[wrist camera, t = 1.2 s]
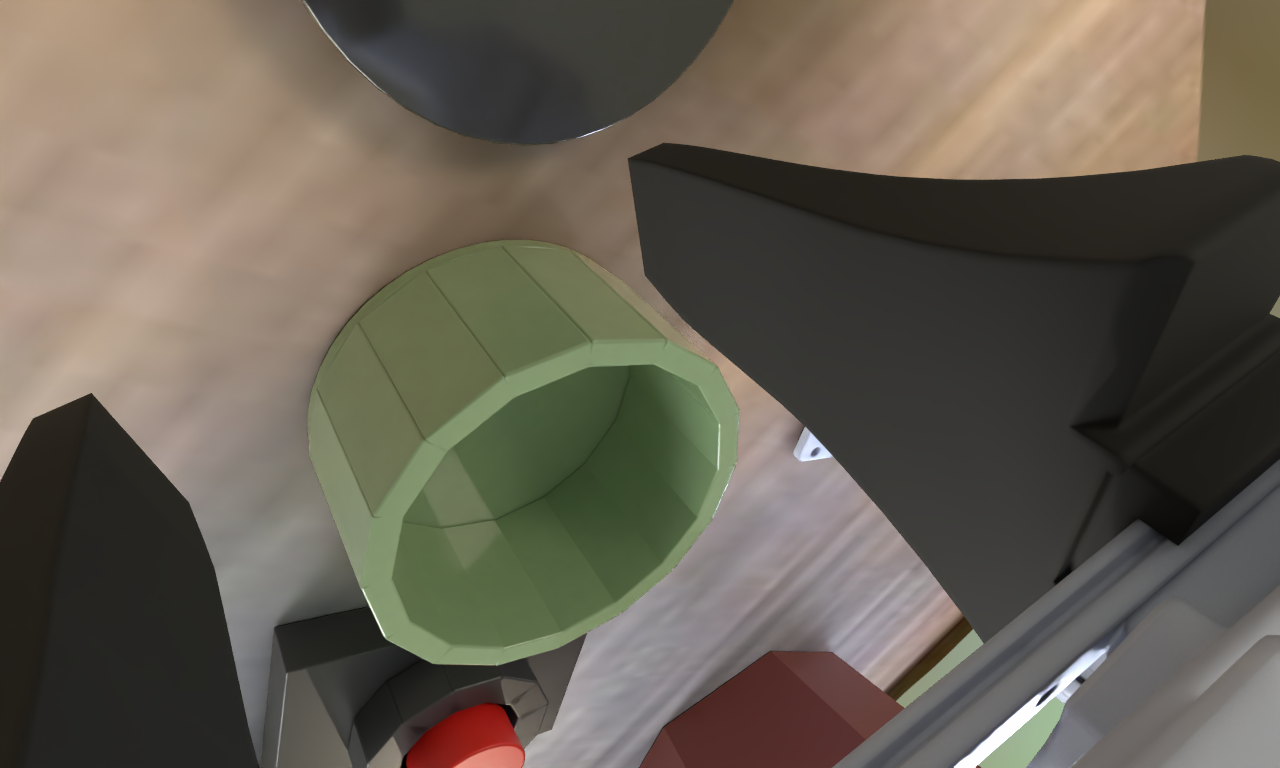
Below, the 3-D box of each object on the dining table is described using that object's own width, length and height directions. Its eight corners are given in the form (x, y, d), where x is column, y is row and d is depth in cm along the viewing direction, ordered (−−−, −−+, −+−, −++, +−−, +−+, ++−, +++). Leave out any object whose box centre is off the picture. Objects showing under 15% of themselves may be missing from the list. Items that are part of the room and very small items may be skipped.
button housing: (579, 561, 30) (624, 628, 28) (533, 695, 34) (570, 765, 32) (274, 626, 24) (299, 720, 21) (258, 784, 27) (278, 879, 25)
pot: (677, 249, 24) (792, 337, 20) (591, 507, 29) (672, 616, 25) (327, 224, 18) (401, 344, 14) (291, 557, 23) (340, 711, 19)
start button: (514, 689, 27) (536, 730, 26) (494, 753, 29) (513, 795, 27) (414, 720, 25) (432, 767, 24) (397, 787, 26) (414, 835, 25)
